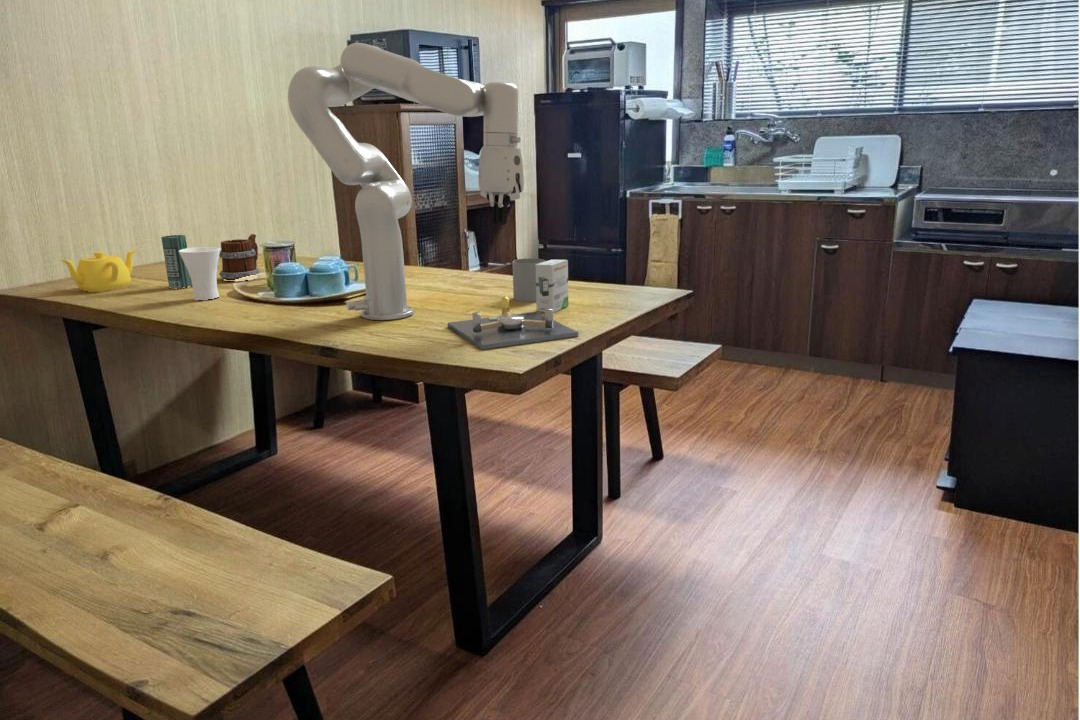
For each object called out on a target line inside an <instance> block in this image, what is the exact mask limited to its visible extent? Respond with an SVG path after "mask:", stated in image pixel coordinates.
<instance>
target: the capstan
mask: <svg viewBox="0 0 1080 720" xmlns="http://www.w3.org/2000/svg"><path fill="white" fill-rule="evenodd" d="M520 314H521V313H511V312H510V298H509V297H507V296H503V297H501V314H500V315H498V317H497V321H495V322H490V323H485V324H481V319H482V313H481V312H479V311H478V312H472V316H471V317H472V320H473V332H475V333H479V332H482V331H483V330H488V329H492V328H497V327H498V328H501V329H518V328H522V327H524V325H525V326H539V327H545V328H553V320H554V313H553V309H552V308H547V309H545V312H544V316H545V321H541V320H526V319H524V316H523V315H520Z"/></svg>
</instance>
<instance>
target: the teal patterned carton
mask: <svg viewBox="0 0 1080 720" xmlns="http://www.w3.org/2000/svg"><path fill="white" fill-rule="evenodd" d="M161 244H162V251H163V256H164V262H165V269H166V276H167V282H168V283H167V284H168V288H169V287H171V288H183V287H188V286H192V281H191V278H190V275H189V272H188V270H187V268H186V265H185V263H184V261H183V259H182V257H181V255H180V253H179V250H182V249H186V248H188V245H187V237H186V235H184V234H172V235H165V236H164V235H163V236H161ZM192 287H193V286H192Z"/></svg>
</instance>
